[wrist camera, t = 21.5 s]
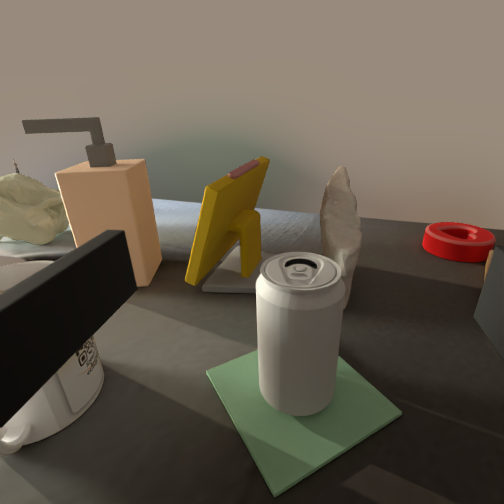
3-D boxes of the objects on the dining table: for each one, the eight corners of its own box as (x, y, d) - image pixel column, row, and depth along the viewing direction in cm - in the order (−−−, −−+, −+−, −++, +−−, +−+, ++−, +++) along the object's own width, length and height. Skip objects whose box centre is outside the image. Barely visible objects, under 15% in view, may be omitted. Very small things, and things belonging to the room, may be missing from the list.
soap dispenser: (162, 259, 53) (137, 115, 43) (148, 286, 45) (115, 117, 36) (85, 262, 53) (43, 118, 43) (58, 290, 45) (0, 122, 36)
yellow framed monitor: (241, 243, 58) (236, 153, 51) (283, 248, 55) (284, 154, 49) (187, 304, 41) (170, 181, 34) (245, 315, 38) (239, 184, 32)
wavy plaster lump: (71, 260, 69) (93, 193, 66) (27, 274, 56) (52, 192, 54) (-7, 227, 69) (12, 158, 66) (-70, 234, 56) (-49, 149, 53)
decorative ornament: (416, 237, 58) (419, 220, 57) (475, 239, 56) (480, 222, 55) (431, 260, 50) (436, 241, 48) (502, 264, 48) (508, 244, 46)
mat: (401, 415, 26) (402, 412, 25) (274, 498, 20) (274, 494, 20) (308, 331, 35) (308, 328, 35) (206, 373, 30) (206, 370, 30)
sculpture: (312, 258, 51) (317, 163, 45) (341, 258, 51) (350, 162, 45) (324, 322, 36) (334, 193, 30) (365, 323, 36) (384, 193, 30)
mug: (133, 371, 31) (107, 270, 26) (8, 505, 21) (-71, 379, 16) (54, 346, 34) (19, 253, 30) (-85, 450, 24) (-172, 334, 19)
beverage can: (332, 366, 30) (344, 250, 25) (335, 429, 24) (350, 295, 19) (265, 358, 31) (263, 246, 26) (253, 416, 25) (246, 287, 20)
